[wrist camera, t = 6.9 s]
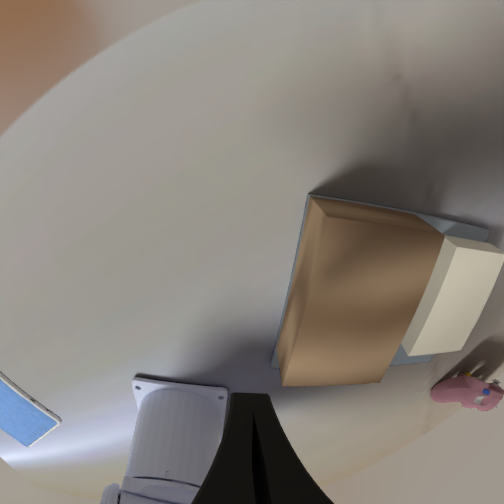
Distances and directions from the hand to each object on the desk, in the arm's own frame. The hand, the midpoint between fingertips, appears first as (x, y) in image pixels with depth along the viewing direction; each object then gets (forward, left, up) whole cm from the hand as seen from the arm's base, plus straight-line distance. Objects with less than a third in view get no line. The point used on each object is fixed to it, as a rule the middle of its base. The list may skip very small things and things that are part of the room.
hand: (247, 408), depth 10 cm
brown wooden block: (0, -6, -9) cm, 11 cm away
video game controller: (-12, -27, -10) cm, 31 cm away
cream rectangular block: (0, -16, -7) cm, 17 cm away
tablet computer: (-25, +30, -10) cm, 40 cm away
